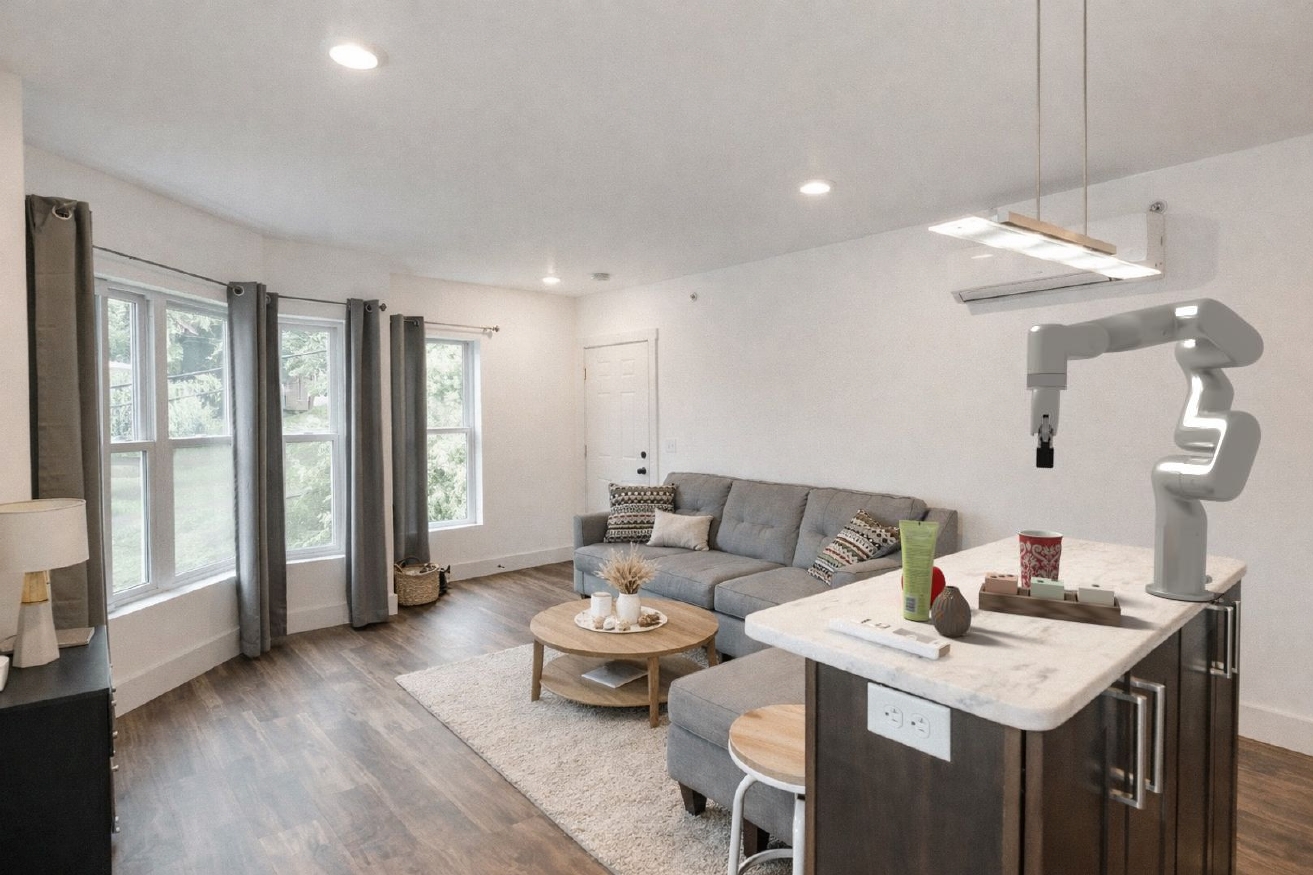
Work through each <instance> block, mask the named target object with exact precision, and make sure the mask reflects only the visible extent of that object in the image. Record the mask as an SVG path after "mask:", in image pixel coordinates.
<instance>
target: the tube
mask: <svg viewBox="0 0 1313 875" xmlns="http://www.w3.org/2000/svg"><path fill="white" fill-rule="evenodd" d="M898 525H899V526H898V527H899V533H900V534H899V535H900V541H901V543H900V544H901V559H902V561H901V562H902V574H903V590H902V616H903V617H904V619H907V620H910V621H915V622H916V621H917V622H925V621H926V622H927V621H929V620H930V615H931V612H930V611H931V608H930V607H931V605H930V599H931V585H932V574H933V566H934V564H935V563H934V561H935V556H936V555H935V553H936V546H937V539H938V533H939V528H940V522H937V521H935V522H934V521H933V522H932V521H920V520H918V521H917V520H907V519H899V520H898Z"/></svg>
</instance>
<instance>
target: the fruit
mask: <svg viewBox="0 0 1313 875" xmlns="http://www.w3.org/2000/svg"><path fill="white" fill-rule="evenodd" d="M943 572H944V571H942V570H941V568H939V567H938V566H934V565H933V574H932V585H931V599H930V606H932V605H933V603H934V601H935V599H936V598H937V597H938V596H939V594H940V593H941V592H942V591H943V589H944V587H945V586H947V582H946V577H945V575H944V573H943ZM900 580H901V581H900V583H901V590H902V591H903V573H902V574H901V579H900Z"/></svg>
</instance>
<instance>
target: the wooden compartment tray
mask: <svg viewBox="0 0 1313 875" xmlns="http://www.w3.org/2000/svg"><path fill="white" fill-rule="evenodd" d="M977 606H978V610H982V611H983V610H984V611H991V612H997V613H1004V614H1015V615H1023V616H1029V617H1038V618H1047V619H1056V620H1063V621H1069V622H1071V621H1072V622H1078V623H1087V624H1095V625H1104V626H1112V627H1119V628H1121V622H1122V621H1121V620H1122V619H1121V618H1122V608H1121V605H1120V603H1119V600H1118V597H1117V596H1114V606H1109V605H1100V604H1091V603H1082V602H1078V597H1077V592H1071V591H1065V590H1064V600H1055V599H1046V598H1038V597H1030V588H1027V587H1021V586H1018V591H1017V595H1011V594H1002V593H993V592H985V582H982V583H981V586H980V588H979V591H978V605H977Z"/></svg>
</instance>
